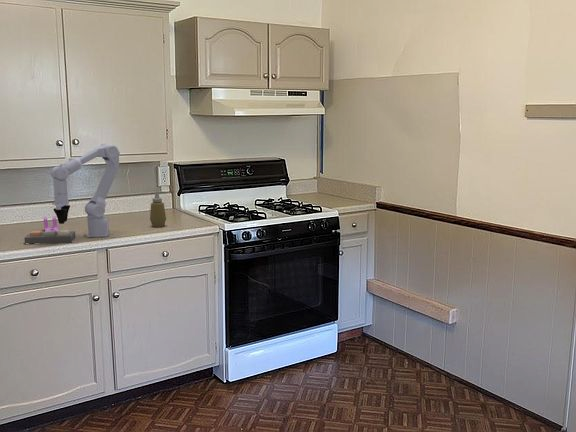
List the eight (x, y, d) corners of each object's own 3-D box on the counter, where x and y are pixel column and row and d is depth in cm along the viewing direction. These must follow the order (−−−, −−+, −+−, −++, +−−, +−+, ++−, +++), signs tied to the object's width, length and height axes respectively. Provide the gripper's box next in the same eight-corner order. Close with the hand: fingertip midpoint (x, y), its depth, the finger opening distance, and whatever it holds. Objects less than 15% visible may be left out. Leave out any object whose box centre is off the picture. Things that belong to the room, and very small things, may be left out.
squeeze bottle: (162, 228, 299) (161, 192, 295) (147, 227, 300) (145, 192, 297) (168, 224, 306) (167, 190, 303) (154, 224, 308) (152, 190, 305)
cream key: (70, 235, 275) (69, 229, 274) (68, 238, 271) (67, 231, 270) (60, 236, 274) (59, 229, 274) (58, 238, 270) (57, 232, 270)
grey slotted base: (75, 237, 278) (75, 231, 278) (71, 242, 269) (70, 236, 268) (30, 239, 275) (30, 232, 275) (24, 244, 266) (24, 237, 265)
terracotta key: (43, 236, 273) (42, 230, 273) (40, 239, 269) (40, 232, 268) (33, 237, 273) (32, 230, 272) (30, 239, 268) (29, 232, 268)
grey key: (56, 236, 274) (56, 230, 274) (54, 238, 270) (54, 232, 269) (46, 236, 273) (46, 230, 273) (44, 238, 269) (43, 232, 269)
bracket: (44, 230, 295) (43, 216, 294) (56, 229, 298) (55, 215, 296) (47, 235, 284) (46, 221, 283) (59, 234, 286) (58, 220, 285)
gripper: (55, 191, 275) (57, 219, 278) (47, 195, 261) (50, 226, 264) (71, 190, 276) (73, 219, 279) (64, 195, 262) (66, 225, 265)
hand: (63, 222), depth 271 cm, fingers open, 5 cm apart
